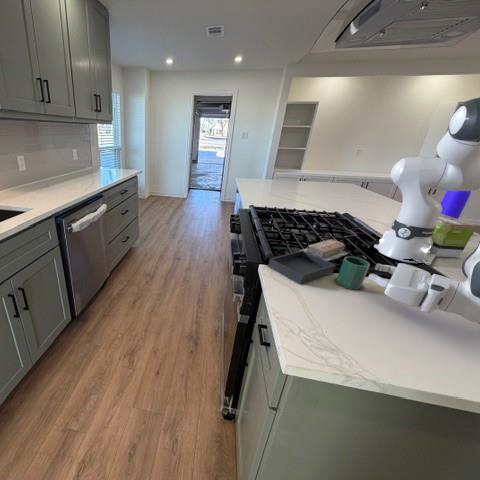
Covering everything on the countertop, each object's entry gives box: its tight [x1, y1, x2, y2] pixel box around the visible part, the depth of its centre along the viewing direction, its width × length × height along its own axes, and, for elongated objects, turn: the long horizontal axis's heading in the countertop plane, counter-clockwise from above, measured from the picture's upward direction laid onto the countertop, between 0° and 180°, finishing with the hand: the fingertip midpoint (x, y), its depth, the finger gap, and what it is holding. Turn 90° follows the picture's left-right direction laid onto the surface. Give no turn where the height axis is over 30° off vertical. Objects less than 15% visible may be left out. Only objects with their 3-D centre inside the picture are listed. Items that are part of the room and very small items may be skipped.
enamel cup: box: [335, 256, 371, 290], centre depth 82 cm, size 7×7×8 cm
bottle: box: [440, 190, 472, 219], centre depth 127 cm, size 8×8×30 cm
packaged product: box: [299, 238, 349, 262], centre depth 103 cm, size 18×5×10 cm
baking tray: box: [268, 249, 336, 285], centre depth 92 cm, size 18×13×3 cm
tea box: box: [430, 214, 478, 258], centre depth 109 cm, size 15×10×15 cm, turn 177°
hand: (372, 270), depth 78 cm, fingers open, 8 cm apart
